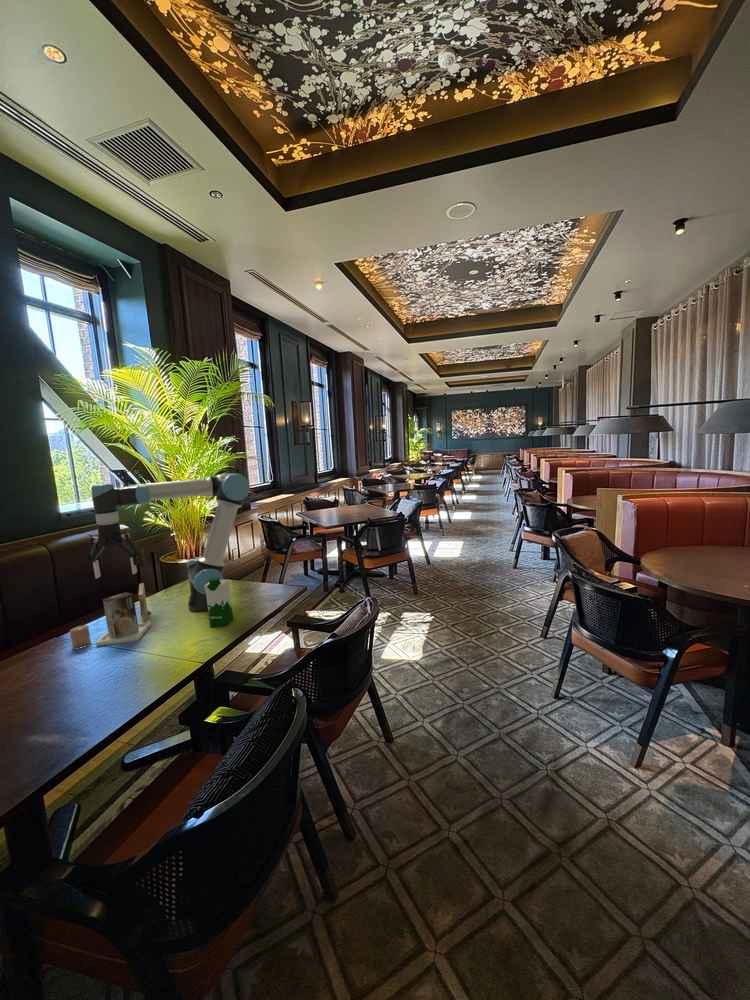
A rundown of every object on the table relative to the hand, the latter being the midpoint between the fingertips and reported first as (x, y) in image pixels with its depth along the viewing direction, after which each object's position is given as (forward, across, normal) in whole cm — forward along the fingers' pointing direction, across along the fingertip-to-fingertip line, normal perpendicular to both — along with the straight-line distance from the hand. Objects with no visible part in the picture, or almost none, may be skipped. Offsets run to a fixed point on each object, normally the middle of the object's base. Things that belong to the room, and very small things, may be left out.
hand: (116, 575), depth 167 cm
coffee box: (+25, +1, 0) cm, 25 cm away
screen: (+25, -2, -16) cm, 30 cm away
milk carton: (+26, -38, +1) cm, 46 cm away
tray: (+25, 0, 0) cm, 25 cm away
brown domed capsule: (+25, +14, +5) cm, 29 cm away
